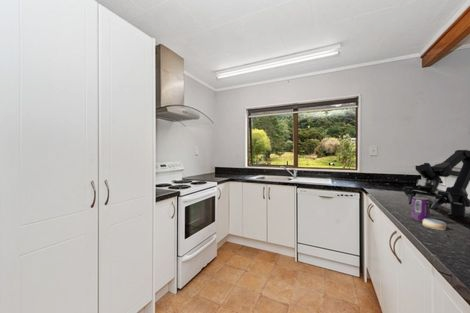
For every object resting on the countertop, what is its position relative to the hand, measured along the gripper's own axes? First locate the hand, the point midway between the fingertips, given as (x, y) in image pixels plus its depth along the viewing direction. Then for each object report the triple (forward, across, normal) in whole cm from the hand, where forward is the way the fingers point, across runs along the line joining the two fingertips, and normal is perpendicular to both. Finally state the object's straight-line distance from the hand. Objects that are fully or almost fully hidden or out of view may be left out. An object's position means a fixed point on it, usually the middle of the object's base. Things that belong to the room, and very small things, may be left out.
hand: (419, 206), depth 104 cm
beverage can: (+5, 0, +6) cm, 8 cm away
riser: (+9, +8, +2) cm, 12 cm away
